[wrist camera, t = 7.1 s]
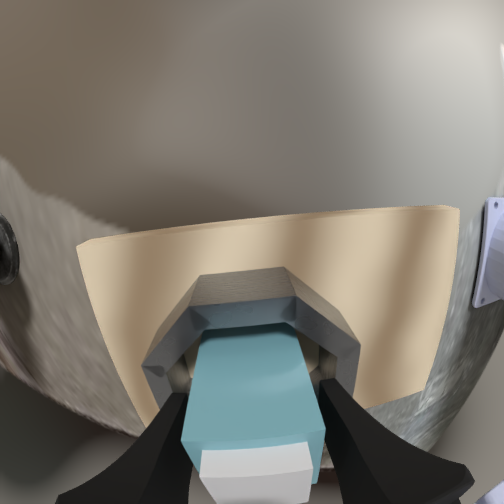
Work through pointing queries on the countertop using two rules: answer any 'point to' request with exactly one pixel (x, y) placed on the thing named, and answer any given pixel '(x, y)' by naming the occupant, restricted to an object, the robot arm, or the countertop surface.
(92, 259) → the holder dock
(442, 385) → the countertop surface
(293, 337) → the connector
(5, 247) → the salt shaker
